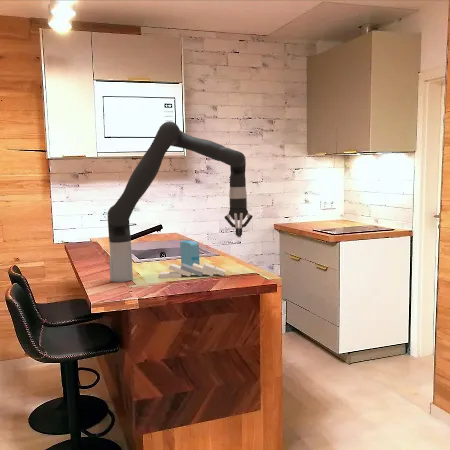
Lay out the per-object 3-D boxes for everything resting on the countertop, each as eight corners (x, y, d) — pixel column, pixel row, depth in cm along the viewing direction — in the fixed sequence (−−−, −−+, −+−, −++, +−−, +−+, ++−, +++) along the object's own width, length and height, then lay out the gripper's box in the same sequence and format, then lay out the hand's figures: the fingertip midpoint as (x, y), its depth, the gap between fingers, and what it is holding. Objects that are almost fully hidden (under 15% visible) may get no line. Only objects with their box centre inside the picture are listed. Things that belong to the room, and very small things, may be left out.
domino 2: (189, 276, 223) (168, 269, 223) (191, 274, 228) (170, 267, 228) (191, 272, 223) (169, 265, 223) (192, 270, 228) (171, 263, 228)
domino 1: (181, 277, 223) (158, 278, 224) (182, 275, 228) (160, 275, 229) (180, 273, 223) (158, 273, 223) (182, 271, 228) (160, 271, 228)
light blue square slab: (199, 266, 247) (198, 242, 246) (191, 267, 245) (190, 243, 244) (189, 263, 258) (187, 239, 256) (181, 264, 255) (179, 240, 254)
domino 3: (201, 276, 223) (180, 269, 223) (202, 274, 228) (181, 266, 228) (202, 272, 223) (181, 265, 223) (203, 270, 228) (183, 262, 228)
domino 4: (212, 276, 222) (191, 268, 223) (213, 274, 227) (192, 266, 227) (213, 272, 222) (192, 264, 222) (214, 270, 227) (193, 262, 227)
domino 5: (223, 276, 222) (202, 268, 222) (224, 273, 227) (203, 266, 227) (225, 272, 222) (203, 264, 222) (225, 270, 227) (204, 262, 227)
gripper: (253, 196, 224) (253, 235, 226) (223, 197, 225) (224, 235, 227) (253, 197, 217) (254, 237, 219) (222, 198, 217) (223, 238, 219)
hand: (239, 236), depth 223 cm, fingers closed
